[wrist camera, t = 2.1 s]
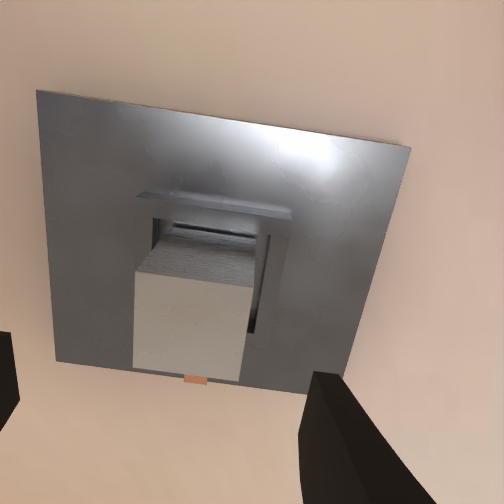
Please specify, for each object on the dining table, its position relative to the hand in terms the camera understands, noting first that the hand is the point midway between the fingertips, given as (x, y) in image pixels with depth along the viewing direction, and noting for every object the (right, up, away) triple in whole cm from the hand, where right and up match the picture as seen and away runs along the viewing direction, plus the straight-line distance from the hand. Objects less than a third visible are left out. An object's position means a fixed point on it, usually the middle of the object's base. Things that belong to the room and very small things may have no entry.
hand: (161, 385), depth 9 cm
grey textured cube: (0, +2, +9) cm, 9 cm away
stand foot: (0, +3, +10) cm, 10 cm away
